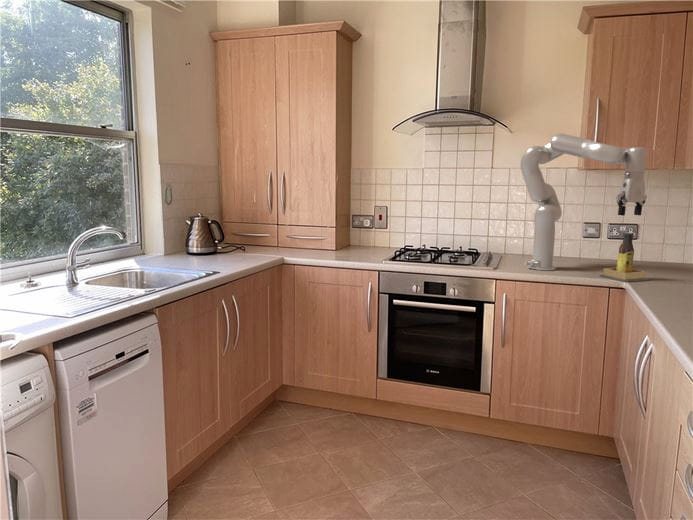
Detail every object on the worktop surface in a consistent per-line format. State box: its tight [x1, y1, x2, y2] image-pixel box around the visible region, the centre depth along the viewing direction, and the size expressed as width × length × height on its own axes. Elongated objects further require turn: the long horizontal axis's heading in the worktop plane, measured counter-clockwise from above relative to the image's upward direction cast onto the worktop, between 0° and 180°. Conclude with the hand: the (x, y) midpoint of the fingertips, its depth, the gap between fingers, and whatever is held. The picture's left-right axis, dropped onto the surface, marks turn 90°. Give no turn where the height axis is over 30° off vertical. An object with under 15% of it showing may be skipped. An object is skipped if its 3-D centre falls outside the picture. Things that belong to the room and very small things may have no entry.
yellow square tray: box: [599, 267, 650, 283], centre depth 237 cm, size 14×14×4 cm
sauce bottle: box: [616, 232, 635, 273], centre depth 236 cm, size 7×6×20 cm
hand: (629, 215), depth 233 cm, fingers open, 9 cm apart
